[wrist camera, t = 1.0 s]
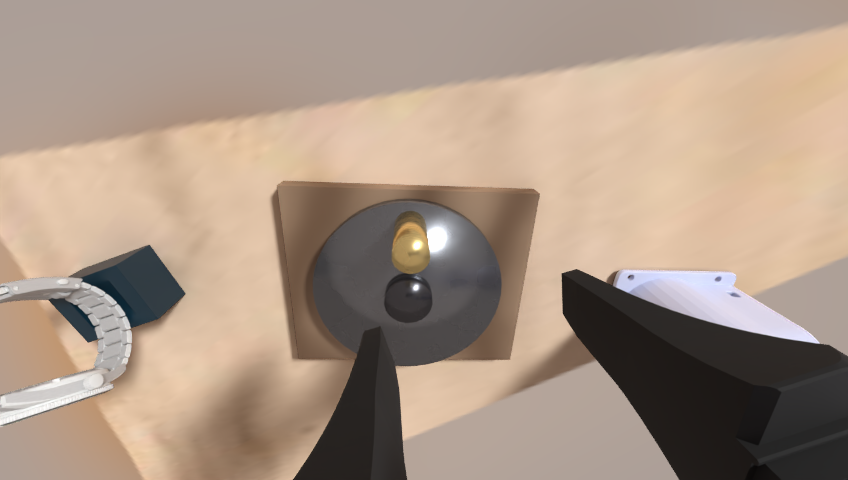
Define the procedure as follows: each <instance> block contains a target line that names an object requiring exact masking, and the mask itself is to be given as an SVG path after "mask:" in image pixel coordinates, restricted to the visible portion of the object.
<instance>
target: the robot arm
mask: <svg viewBox="0 0 848 480" xmlns="http://www.w3.org/2000/svg"><path fill="white" fill-rule="evenodd" d="M629 275H631V277H629V278H628V276H629ZM716 277H717V278H716ZM715 278H716V279H715ZM735 280H736V275H735V274H734V273H732V272H721V271H669V270H620V271H619V272H618V273H617V274H616V277H615V280H614V283H613V286H612V285H610V284H608V283H606V282H604V281H601V280H599V279H597V278H595V277H593V276H591V275H589V274H586V273H584V272H582V271H580V270H577V269H576V270H572V271H569V272H565V273H562V301H563V315H564V316H565V318H566V320H567V321H568V323H569V324H570V326H571V328H572V329H573V331H574V332H575V334H576V335H577V337H578V338H579V339H580V340H581V342H582V343H583V344H584V345H585V346H586V348H587V349H588V350H589V351H590V353H591V354H592V355H593V356H594V357H595V359H596V360H597V361H598V362H599V363H600V365H601V366H602V367H603V368H604V369H605V371H606V372H607V373H608V374H609V375H610V377H611V378H612V379H613V380H614V381H615V382H616V384H617V385H618V386H619V388H620V389H621V390H622V392H623V393H624V394H625V396H626V397H627V398H628V400H629V402H630V403H631V405H632V406H633V407H634V409H635V410H636V412H637V413H638V415H639V416H640V417H641V419H642V421H643V422H644V424H645V425H646V427H647V429H648V430H649V432H650V433H651V435H652V436H653V438H654V439H655V441H656V443H657V444H658V446H659V447H660V449H661V450H662V452H663V454H664V455H665V457H666V459H667V460H668V462H669V464H670V465H671V467H672V468H673V470H674V472H675V473H676V475H677V477H678V478H679V480H848V356H846V355H845V354H843V353H841V352H840V351H838V350H836V349H835V348H833V347H831V346H830V345H824V344H820V343H819V342H818V341H817V340H816V339H815V338H814V337H813V336H812V335H811V334H810V333H809V332H807V331H806V330H805V329H803V328H801V327H800V326H798V325H797V324H795V323H793V322H792V321H790V320H788V319H787V318H785V317H783V316H782V315H780V314H778V313H777V312H775V311H773V310H772V309H770V308H768V307H767V306H765V305H763V304H762V303H760V302H758V301H757V300H755V299H753V298H752V297H750V296H748V295H747V294H745V293H744V292H742V291H740V290H739V289H737V288H735V287H734V286H733V285H734V282H735ZM293 480H407V476H406V470H405V463H404V453H403V441H402V425H401V409H400V394H399V386H398V380H397V374H396V369H395V363H394V361H393V358H392V355H391V353H390V350H389V347H388V344H387V342H386V339H385V336H384V334H383V331H382V328H381V326H379V327H376V328H373V329H369V330H366V331H364V333H363V336H362V340H361V343H360V347H359V350H358V354H357V357H356V360H355V363H354V365H353V368H352V371H351V374H350V377H349V379H348V382H347V384H346V386H345V389H344V391H343V393H342V396H341V398H340V400H339V403H338V405H337V407H336V409H335V411H334V413H333V415H332V417H331V419H330V421H329V423H328V425H327V427H326V428H325V430H324V432H323V434H322V435H321V437H320V439H319V441H318V442H317V444H316V446H315V447H314V449H313V451H312V452H311V454H310V455H309V457H308V459H307V460H306V462H305V463H304V464H303V466H302V467H301V469H300V470H299V472H298V473H297V475H296V476H295V478H294V479H293Z"/></svg>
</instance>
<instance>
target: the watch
mask: <svg viewBox="0 0 848 480" xmlns="http://www.w3.org/2000/svg"><path fill="white" fill-rule="evenodd" d="M184 295H185V292H184V291H183V290H182V288H181V287H180V286H179V284H178V283H177V282H176V280H175V279H174V277H173V276H172V275H171V273H170V272H169V271H168V269H167V268H166V267H165V265H164V264H163V263H162V261H161V260H160V258H159V257H158V256H157V254H156V253H155V252H154V250H153V249H152V248H151V246H150V245H147V246H145V247H142V248H139V249H136V250H134V251H131V252H128V253H125V254H122V255H120V256H117V257H114V258H111V259H109V260H106V261H103V262H100V263H98V264H95V265H92V266H89V267H87V268H84V269H82V270H80V271H78V272H76V273H74V274H73V275H71V276H69V277H40V278H31V279H24V280H18V281H13V282H8V283H4V284H0V303H4V302H11V301H20V300H49V301H50V302H51V303H52V304H53V305H54V306H55V308H56V309H57V310H58V311H59V312H60V313H61V314H62V315H63V316H64V317H65V318H66V319H67V320H68V321H69V322H70V324H71V325H72V326H73V327H74V328H75V329H76V330H77V331H78V332H79V333H80V334H81V335H82V336H83V337H84V339H85V340H86V341H87V342H91V341H94V340H97V339H100V340H99V341H98V352H99V353H100V354H98V355H97V358H96V361H95V364H94V366H95V368H93V369H90V370H86V371H82V372H78V373H74V374H70V375H67V376H63V377H59V378H56V379H53V380H49V381H45V382H42V383H38V384H35V385H32V386H28V387H25V388H22V389H18V390H15V391H12V392H9V393H5V394H2V395H0V427H3V426H6V425H9V424H13V423H16V422H19V421H22V420H25V419H28V418H31V417H34V416H37V415H40V414H43V413H46V412H49V411H52V410H55V409H58V408H61V407H64V406H67V405H70V404H73V403H76V402H79V401H82V400H85V399H88V398H91V397H94V396H97V395H100V394H103V393H105V392H107V391H109V390H111V389H113V388H114V384H111V382H112V381H113V380H115V379H116V378H118V377H119V376H120V375H122V374H123V373H124V372H125V370H126V364H127V362H128V358H129V356H130V353H131V346H132V345H131V344H130V343H132V333H131V330H129V329H131V328H133V327H136V326H139V325H141V324H144V323H147V322H150V321H153V320H156V319H159V318H160V317H161V316H162V315H163V314H164V313H165V312H166V311H167V310H169V309H170V308H171V307H172V306H173V305H174V304H175V303H176V302H177V301H178V300H179V299H180V298H182V297H183V296H184ZM126 330H127V331H126ZM102 338H103V339H102ZM118 342H119V343H118ZM115 343H116V344H115ZM112 344H113V345H112ZM109 345H110V346H109Z"/></svg>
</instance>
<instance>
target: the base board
mask: <svg viewBox="0 0 848 480" xmlns="http://www.w3.org/2000/svg"><path fill="white" fill-rule="evenodd" d="M277 189H278V197H279V205H280V213H281V222H282V230H283V238H284V246H285V254H286V262H287V270H288V278H289V286H290V294H291V302H292V310H293V318H294V326H295V334H296V342H297V350H298V358H299V359H356V357H357V354H356V353H354V352H353V351H351V350H350V349H348V348H347V347H345V346H344V345H343V344H341V343H340V342H339V341H338V340H337V339H336V338H335V337H334V336H333V335H332V334H331V333H330V332H329V330H328V329H327V327H326V326H325V324H324V323H323V321H322V319H321V317H320V315H319V313H318V311H317V308H316V305H315V301H314V295H313V276H314V269H315V266H316V263H317V259H318V257H319V255H320V253H321V251H322V249H323V247H324V245H325V243H326V242H327V240H328V239H329V237H330V236H331V234H332V233H333V232H334V231H335V230H336V229H337V228H338V226H339V225H340V224H341V223H343V222H344V221H345V220H346V219H348V218H349V217H350V216H352V215H353V214H355V213H356V212H358V211H360V210H362V209H364V208H366V207H368V206H371V205H373V204H377V203H380V202H383V201H389V200H395V199H421V200H427V201H432V202H436V203H439V204H442V205H445V206H447V207H450V208H452V209H453V210H455V211H457V212H459V213H461V214H462V215H464V216H465V217H466V218H468V219H469V220H470V221H471V222H473V223H474V224H475V225H476V226H477V227H478V228H479V229H480V231H481V232H482V233H483V234H484V236H485V237H486V239H487V240H488V242H489V244H490V245H491V247H492V249H493V251H494V253H495V256H496V258H497V261H498V263H499V268H500V272H501V282H502V286H501V296H500V301H499V305H498V308H497V310H496V313H495V315H494V317H493V319H492V321H491V322H490V324H489V325H488V327H487V328H486V330H485V331H484V332H483V333H482V334H481V335H480V336H479V337H478V339H477V340H475V341H474V342H473V343H472V344H471V345H469V346H468V347H467V348H465V349H464V350H462V351H460V352H459V353H457V354H455V355H453V356H451V357H449V358H446V359H467V360H510V356H511V351H512V345H513V340H514V334H515V328H516V323H517V317H518V312H519V306H520V301H521V295H522V289H523V284H524V278H525V273H526V267H527V262H528V256H529V250H530V245H531V239H532V234H533V228H534V223H535V217H536V212H537V206H538V200H539V195H540V194H539V193H538V192H537V191H535V190H534V189H514V188H483V187H452V186H421V185H390V184H360V183H329V182H298V181H283V182H281V183H280V184H278V185H277Z"/></svg>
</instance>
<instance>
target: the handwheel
mask: <svg viewBox="0 0 848 480" xmlns="http://www.w3.org/2000/svg"><path fill="white" fill-rule="evenodd" d="M501 286H502V282H501V272H500V268H499V263H498V261H497V258H496V256H495V253H494V251H493V249H492V247H491V245H490V244H489V242H488V240H487V239H486V237H485V236H484V234H483V233H482V232H481V231H480V229H479V228H478V227H477V226H476V225H475V224H474V223H473V222H471V221H470V220H469V219H468V218H466V217H465V216H464V215H462V214H461V213H459V212H457V211H455V210H453V209H452V208H450V207H447V206H445V205H442V204H439V203H436V202H432V201H427V200H421V199H395V200H389V201H383V202H380V203H377V204H373V205H371V206H368V207H366V208H364V209H362V210H360V211H358V212H356V213H355V214H353V215H352V216H350V217H349V218H348V219H346V220H345V221H344V222H343V223H341V224H340V225H339V226H338V228H337V229H336V230H335V231H334V232H333V233H332V234H331V236H330V237H329V239H328V240H327V242H326V243H325V245H324V247H323V249H322V251H321V253H320V255H319V257H318V259H317V263H316V266H315V269H314V276H313V295H314V301H315V305H316V308H317V311H318V313H319V315H320V317H321V319H322V321H323V323H324V324H325V326H326V327H327V329H328V330H329V332H330V333H331V334H332V335H333V336H334V337H335V338H336V339H337V340H338V341H339V342H340V343H341V344H343V345H344V346H345V347H347V348H348V349H350V350H351V351H353V352H354V353H356V354H358V350H359V347H360V343H361V340H362V336H363V333H364V331H366V330H369V329H373V328H376V327H379V326H381V328H382V331H383V334H384V336H385V339H386V342H387V344H388V347H389V350H390V353H391V355H392V358H393V361H394V363H395V366H418V365H425V364H430V363H434V362H438V361H441V360H444V359H446V358H449V357H451V356H453V355H455V354H457V353H459V352H460V351H462V350H464V349H465V348H467V347H468V346H469V345H471V344H472V343H473V342H474V341H475V340H477V339H478V337H479V336H480V335H481V334H482V333H483V332H484V331H485V330H486V328H487V327H488V325H489V324H490V322H491V321H492V319H493V317H494V315H495V313H496V310H497V308H498V305H499V301H500V296H501Z"/></svg>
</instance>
